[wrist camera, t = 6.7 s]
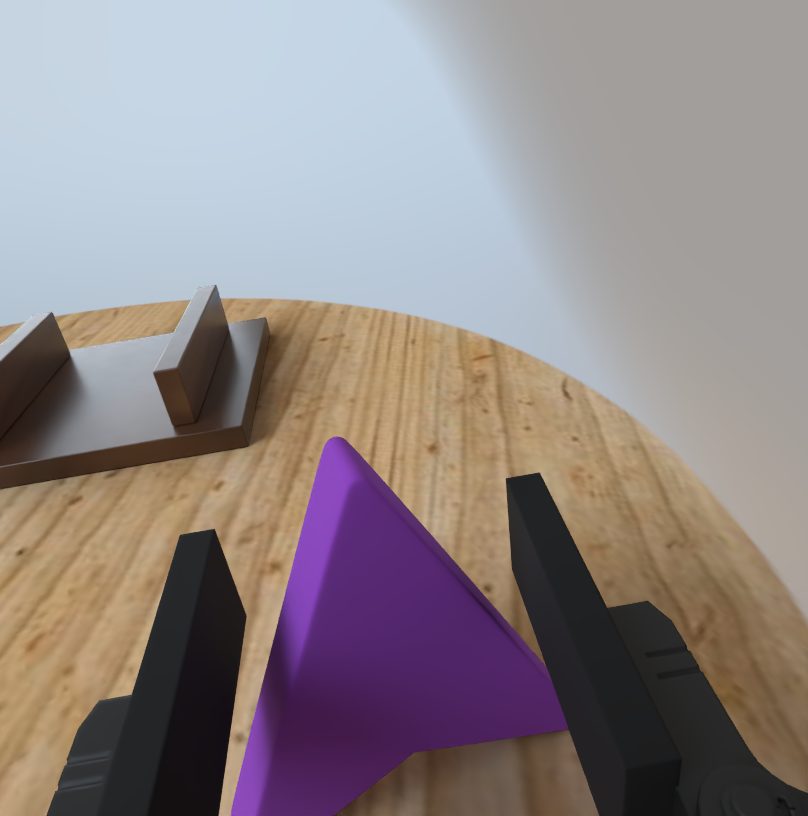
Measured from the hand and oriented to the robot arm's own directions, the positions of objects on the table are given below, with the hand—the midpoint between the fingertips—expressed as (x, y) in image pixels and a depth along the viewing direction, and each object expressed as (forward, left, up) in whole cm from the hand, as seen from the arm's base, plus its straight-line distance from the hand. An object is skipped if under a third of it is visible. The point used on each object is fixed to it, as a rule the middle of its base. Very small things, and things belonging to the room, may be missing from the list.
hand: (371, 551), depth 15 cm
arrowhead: (0, +2, -6) cm, 6 cm away
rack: (+14, -22, -6) cm, 27 cm away
